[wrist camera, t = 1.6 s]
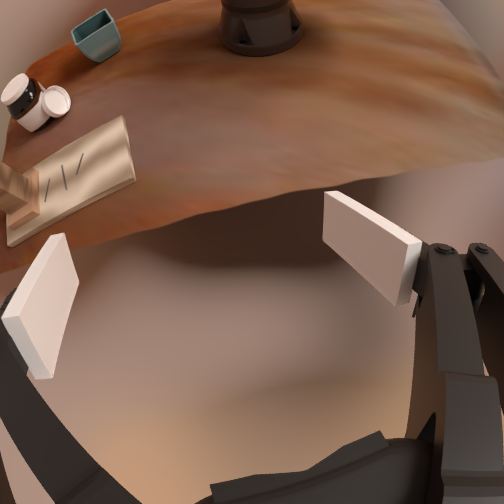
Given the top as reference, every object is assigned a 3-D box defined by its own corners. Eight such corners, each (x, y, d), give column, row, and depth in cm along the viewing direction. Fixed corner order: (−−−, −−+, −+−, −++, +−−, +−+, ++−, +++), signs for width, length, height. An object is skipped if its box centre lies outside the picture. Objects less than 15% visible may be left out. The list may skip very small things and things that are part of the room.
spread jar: (29, 114, 54) (-1, 88, 43) (67, 82, 55) (39, 51, 43) (34, 147, 51) (-1, 120, 40) (76, 112, 52) (43, 78, 40)
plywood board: (11, 188, 50) (7, 185, 49) (125, 119, 49) (121, 115, 47) (12, 247, 47) (7, 245, 45) (136, 181, 46) (132, 177, 44)
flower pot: (120, 33, 56) (105, 7, 47) (131, 49, 54) (114, 20, 45) (88, 55, 56) (70, 30, 47) (95, 72, 54) (75, 46, 45)
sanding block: (14, 188, 48) (-32, 161, 35) (39, 171, 48) (-8, 139, 35) (14, 230, 46) (-38, 207, 33) (40, 214, 45) (-14, 187, 33)
